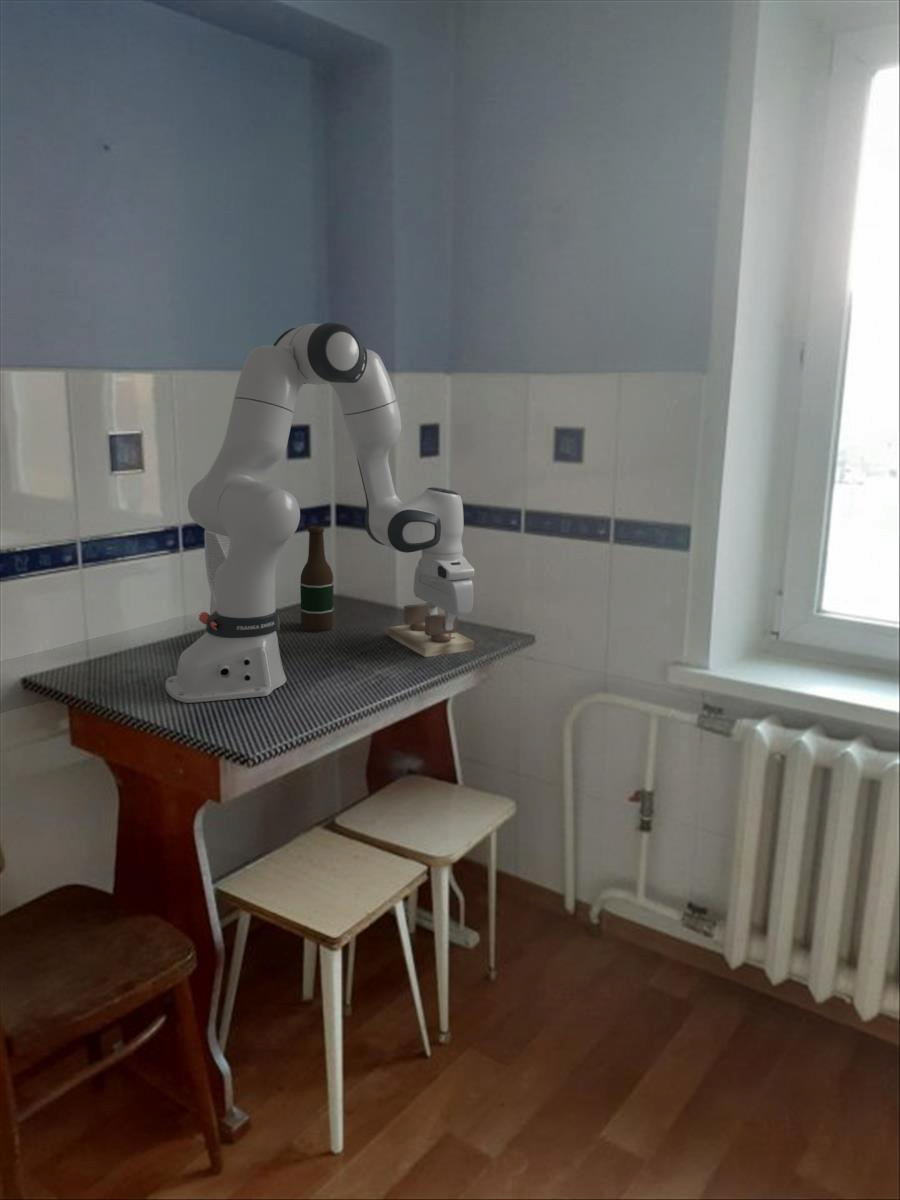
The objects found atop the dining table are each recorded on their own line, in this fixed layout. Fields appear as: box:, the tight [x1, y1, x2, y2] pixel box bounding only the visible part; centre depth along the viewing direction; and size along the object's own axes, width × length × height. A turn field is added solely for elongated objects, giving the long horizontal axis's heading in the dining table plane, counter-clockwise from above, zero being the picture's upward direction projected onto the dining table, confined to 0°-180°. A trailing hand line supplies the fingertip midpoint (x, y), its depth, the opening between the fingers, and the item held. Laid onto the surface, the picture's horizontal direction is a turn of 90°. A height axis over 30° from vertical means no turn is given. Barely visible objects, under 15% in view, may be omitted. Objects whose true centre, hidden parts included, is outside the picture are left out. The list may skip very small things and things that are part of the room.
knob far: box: [403, 602, 429, 631], centre depth 210 cm, size 7×4×6 cm, turn 119°
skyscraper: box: [203, 528, 230, 616], centre depth 199 cm, size 8×8×28 cm
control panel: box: [387, 624, 475, 658], centre depth 207 cm, size 12×18×4 cm
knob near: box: [425, 613, 458, 642], centre depth 202 cm, size 7×4×6 cm, turn 120°
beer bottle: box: [299, 525, 335, 633], centre depth 214 cm, size 8×8×24 cm
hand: (441, 626), depth 202 cm, fingers open, 5 cm apart
